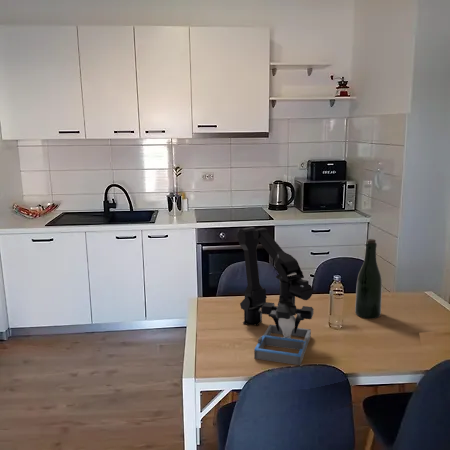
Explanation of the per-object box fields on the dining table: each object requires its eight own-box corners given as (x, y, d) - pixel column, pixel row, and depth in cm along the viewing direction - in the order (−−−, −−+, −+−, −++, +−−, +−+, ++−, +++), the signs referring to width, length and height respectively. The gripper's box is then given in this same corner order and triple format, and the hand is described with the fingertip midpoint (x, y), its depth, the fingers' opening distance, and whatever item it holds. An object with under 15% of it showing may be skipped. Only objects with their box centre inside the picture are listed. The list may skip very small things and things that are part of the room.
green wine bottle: (374, 309, 200) (377, 236, 194) (385, 318, 190) (389, 241, 184) (351, 310, 199) (354, 237, 193) (361, 320, 189) (364, 242, 183)
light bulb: (295, 345, 167) (295, 317, 165) (277, 343, 169) (277, 315, 166) (296, 337, 174) (296, 310, 172) (278, 336, 175) (279, 309, 173)
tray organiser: (254, 358, 158) (254, 345, 157) (269, 331, 179) (269, 319, 178) (300, 365, 153) (300, 351, 152) (310, 336, 174) (310, 324, 173)
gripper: (257, 297, 163) (257, 337, 166) (309, 302, 157) (308, 344, 160) (264, 287, 173) (264, 325, 176) (314, 292, 167) (313, 331, 170)
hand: (286, 331), depth 170 cm, fingers closed on light bulb, 6 cm apart
